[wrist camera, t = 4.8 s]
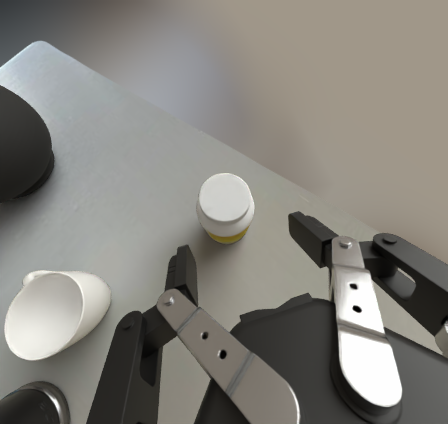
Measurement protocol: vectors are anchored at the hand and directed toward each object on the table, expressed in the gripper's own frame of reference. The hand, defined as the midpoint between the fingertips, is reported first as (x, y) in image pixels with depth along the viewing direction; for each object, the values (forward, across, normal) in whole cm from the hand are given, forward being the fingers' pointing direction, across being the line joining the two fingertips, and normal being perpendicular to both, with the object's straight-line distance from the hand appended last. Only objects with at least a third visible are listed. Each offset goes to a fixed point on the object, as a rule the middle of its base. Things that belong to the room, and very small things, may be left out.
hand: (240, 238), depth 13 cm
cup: (+8, +21, +8) cm, 24 cm away
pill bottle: (+11, 0, +6) cm, 13 cm away
